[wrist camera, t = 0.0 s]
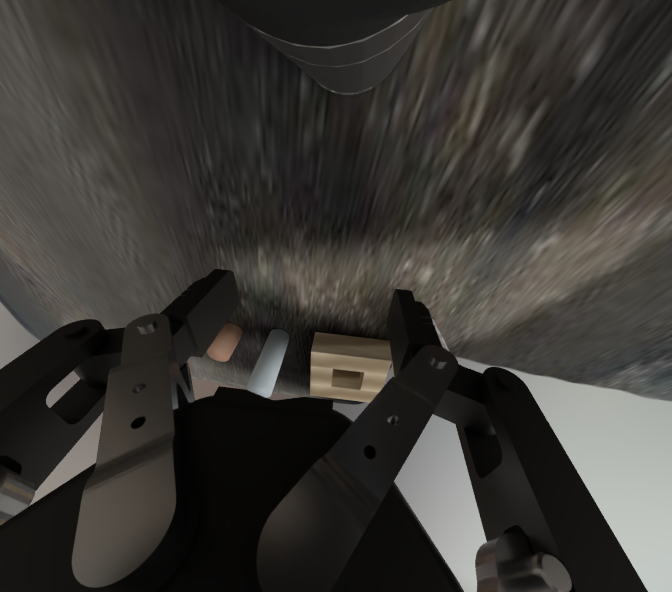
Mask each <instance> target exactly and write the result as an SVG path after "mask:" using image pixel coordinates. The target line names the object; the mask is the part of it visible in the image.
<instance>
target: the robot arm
mask: <svg viewBox="0 0 672 592" xmlns="http://www.w3.org/2000/svg"><path fill="white" fill-rule="evenodd" d="M218 1H219V2H220V3H221V4H223V5H224V6H225V7H226V8H227V9H228V10H230V11H231V12H232V13H233V14H235V15H236V16H237V17H238V18H239V19H241V20H242V21H243V22H244V23H245V24H247V25H248V26H249V27H250V28H252V29H253V30H254V31H255V32H256V33H258V34H259V35H260V36H261V37H263V38H264V39H265V40H267V41H268V42H269V43H270V44H271V45H273V46H274V47H275V48H276V49H278V50H279V51H280V52H281V53H282V54H284V55H285V56H286V57H287V58H289V59H290V60H291V61H292V62H293V63H295V64H296V65H297V66H298V67H299V68H301V69H302V70H303V71H304V72H306V73H307V74H308V75H309V76H310V77H312V78H313V79H314V80H315V81H316V82H317V83H318V84H319V85H320V86H322V87H323V88H325V89H327V90H330V91H331V92H333V93H337V94H341V95H358V94H361V93H364V92H367V91H369V90H371V89H372V88H374V87H376V86H377V85H379V84H380V83H381V82H382V81H383V80H384V79H385V78H386V77H387V76H388V75H389V74H390V73H391V71H392V70H393V68H394V67H395V66H396V64H397V63H398V61H399V60H400V59H401V57H402V56H403V54H404V53H405V51H406V50H407V48H408V47H409V45H410V44H411V42H412V40H413V39H414V37H415V36H416V34H417V33H418V31H419V30H420V28H421V27H422V25H423V24H424V22H425V21H426V19H427V18H428V16H429V14H430V13H431V11H432V10H433V8H434V7H437V6H439V5H441V4H444V3H446V2H448V1H450V0H218ZM238 302H239V296H238V291H237V286H236V281H235V276H234V273H233V271H231V270H221V269H215V270H213V271H212V272H211V273H210V274H209V275H208V276H207V277H206V278H202V279H200V280H198V281H196V282H194V283H193V284H192V285H191V286H190V287H188V288H187V290H185V291H184V292H183V293H182V294H181V296H179V297H177V298H176V299H175V300H174V301H173V302H172V303H171V304H170V305H169V306H168V307H167V308H165V309H164V310H163V311H162V312H161V313H160V314H148V315H144V316H141V317H139V318H137V319H135V320H133V321H132V322H130V323H129V324H128V325H127V326H126V327H125V328H117V329H108V330H105V329H104V327H103V326H102V324H101V323H100V322H99V321H98V320H93V319H87V320H80V321H76V322H73V323H70V324H67V325H65V326H63V327H61V328H59V329H57V330H56V331H54V332H53V333H51V334H50V335H49V336H47V337H46V338H44V339H43V340H42V341H40V342H39V343H37V344H36V345H34V346H33V347H32V348H30V349H29V350H27V351H26V352H24V353H23V354H22V355H20V356H19V357H18V358H16V359H14V360H13V361H12V362H10V363H9V364H7V365H6V366H4V367H3V368H2V369H0V592H464V591H463V589H462V587H461V585H460V584H459V582H458V580H457V579H456V577H455V576H454V574H453V573H452V571H451V569H450V568H449V566H448V565H447V563H446V562H445V560H444V559H443V557H442V556H441V554H440V552H439V551H438V549H437V548H436V546H435V545H434V543H433V542H432V540H431V538H430V537H429V535H428V534H427V532H426V531H425V529H424V527H423V526H422V524H421V523H420V521H419V520H418V518H417V517H416V515H415V514H414V512H413V510H412V509H411V507H410V506H409V504H408V503H407V501H406V500H405V498H404V497H403V495H402V494H401V492H400V490H399V489H398V487H397V486H396V484H395V482H394V480H395V478H396V476H397V475H398V472H399V471H400V469H401V467H402V466H403V464H404V463H405V461H406V459H407V457H408V456H409V454H410V452H411V450H412V449H413V447H414V445H415V443H416V442H417V440H418V438H419V437H420V435H421V433H422V431H423V429H424V428H425V426H426V424H427V423H428V421H429V419H430V417H431V416H432V414H434V415H436V416H439V417H441V418H443V419H446V420H448V421H450V422H452V423H455V424H456V428H457V431H458V435H459V439H460V442H461V446H462V450H463V454H464V458H465V461H466V465H467V469H468V473H469V476H470V480H471V484H472V487H473V491H474V495H475V499H476V503H477V506H478V510H479V514H480V518H481V521H482V525H483V529H484V532H485V536H486V540H487V543H485V544H483V545H482V546H481V547H480V548H479V550H478V552H477V555H476V560H475V567H476V575H477V592H648V591H647V590H646V588H645V586H644V585H643V583H642V581H641V579H640V578H639V576H638V574H637V572H636V571H635V569H634V568H633V566H632V564H631V562H630V561H629V559H628V557H627V556H626V554H625V552H624V551H623V549H622V547H621V545H620V544H619V542H618V540H617V538H616V537H615V535H614V533H613V532H612V530H611V528H610V527H609V525H608V523H607V522H606V520H605V519H604V516H603V515H602V513H601V511H600V510H599V508H598V506H597V505H596V503H595V501H594V500H593V498H592V496H591V494H590V493H589V491H588V489H587V488H586V486H585V484H584V483H583V481H582V479H581V477H580V476H579V474H578V473H577V471H576V469H575V467H574V465H573V464H572V462H571V460H570V459H569V457H568V455H567V454H566V452H565V450H564V449H563V447H562V445H561V443H560V442H559V440H558V438H557V437H556V435H555V433H554V431H553V430H552V428H551V426H550V425H549V423H548V421H547V420H546V418H545V416H544V414H543V413H542V411H541V410H540V408H539V406H538V404H537V403H536V401H535V399H534V398H533V396H532V394H531V392H530V391H529V389H528V387H527V386H526V385H525V383H524V382H523V381H522V380H521V379H520V378H519V377H517V376H516V375H515V374H513V373H511V372H510V371H508V370H505V369H502V368H499V367H490V368H487V369H486V370H485V371H484V373H483V374H482V373H479V372H476V371H474V370H471V369H468V368H465V367H463V366H461V365H459V364H458V361H457V359H456V358H455V356H454V355H453V354H452V353H451V352H449V351H448V350H446V349H444V348H443V347H442V344H441V342H440V339H439V336H438V334H437V331H436V329H435V326H434V325H433V321H432V318H431V315H430V313H429V310H428V309H427V308H426V306H425V305H424V304H423V303H422V302H417V301H415V300H414V296H413V293H412V291H410V290H401V289H395V291H394V294H393V298H392V301H391V305H390V309H389V313H388V318H387V327H388V334H389V341H390V348H391V355H392V363H393V370H394V377H392V378H391V379H390V380H389V381H388V382H387V384H386V385H385V386H384V387H383V388H382V389H381V391H380V392H379V393H378V394H377V395H376V396H375V398H374V399H373V400H372V401H371V402H370V404H369V405H368V406H367V407H366V408H365V409H364V411H363V412H362V413H361V414H360V415H359V416H358V418H357V419H356V420H355V421H354V422H352V421H351V420H350V419H349V418H348V417H346V416H345V415H343V414H341V413H339V412H338V411H335V410H333V409H332V408H333V407H332V406H333V400H326V399H318V398H310V397H300V398H292V399H284V400H270V399H268V398H265V397H263V396H260V395H258V394H256V393H253V392H251V391H248V390H243V389H236V388H227V387H218V389H217V391H216V392H215V394H214V396H209V397H205V398H202V399H198V400H195V398H194V392H193V387H192V381H191V374H190V368H189V364H188V361H187V360H188V359H189V358H190V356H195V357H203V355H204V354H205V353H206V351H207V350H208V348H209V347H210V345H211V344H212V343H213V341H214V340H215V338H216V337H217V335H218V334H219V332H220V331H221V330H222V328H223V327H224V325H225V324H226V322H227V321H228V320H229V318H230V317H231V315H232V314H233V312H234V311H235V310H236V308H237V306H238ZM73 370H74V372H75V373H76V374H77V375H78V376H79V377H80V378H81V379H80V380H79V381H78V382H77V383H76V384H75V385H74V386H73V387H72V388H71V389H70V390H68V391H67V392H66V393H65V394H64V395H63V396H62V397H61V398H60V399H59V400H58V401H57V402H56V403H55V404H54V405H53V406H52V407H51V408H49V407H48V406H47V404H46V397H47V395H48V393H49V392H50V391H51V390H52V389H53V388H54V387H55V386H56V385H57V384H58V383H59V382H61V381H62V379H64V378H65V377H66V376H67V375H68V374H69V373H70V372H72V371H73ZM102 412H103V418H102V425H101V432H100V439H99V446H98V453H97V460H96V463H95V464H93V465H92V466H90V467H89V468H87V469H86V470H84V471H83V472H81V473H79V474H78V475H76V476H75V477H73V478H72V479H70V480H69V481H67V482H66V483H64V484H63V485H61V486H60V487H58V488H57V489H55V490H54V491H52V492H50V493H49V494H47V495H46V496H45V497H43V498H41V499H40V500H38V501H37V502H35V503H34V504H32V505H30V503H31V502H32V500H33V497H34V494H35V491H36V490H37V489H38V488H39V486H40V485H41V484H42V483H43V482H44V481H45V479H46V478H47V477H48V476H49V475H50V473H51V472H52V471H53V470H54V469H55V468H56V466H57V465H58V464H59V463H60V462H61V461H62V459H63V458H64V457H65V456H66V455H67V453H68V452H69V451H70V450H71V449H72V448H73V446H74V445H75V444H76V443H77V442H78V440H79V439H80V438H81V437H82V435H84V433H85V432H86V431H87V430H88V429H89V428H90V426H91V425H92V424H93V423H94V422H95V420H96V419H97V418H98V417H99V416H100V415H101V413H102ZM29 505H30V506H29Z"/></svg>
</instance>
